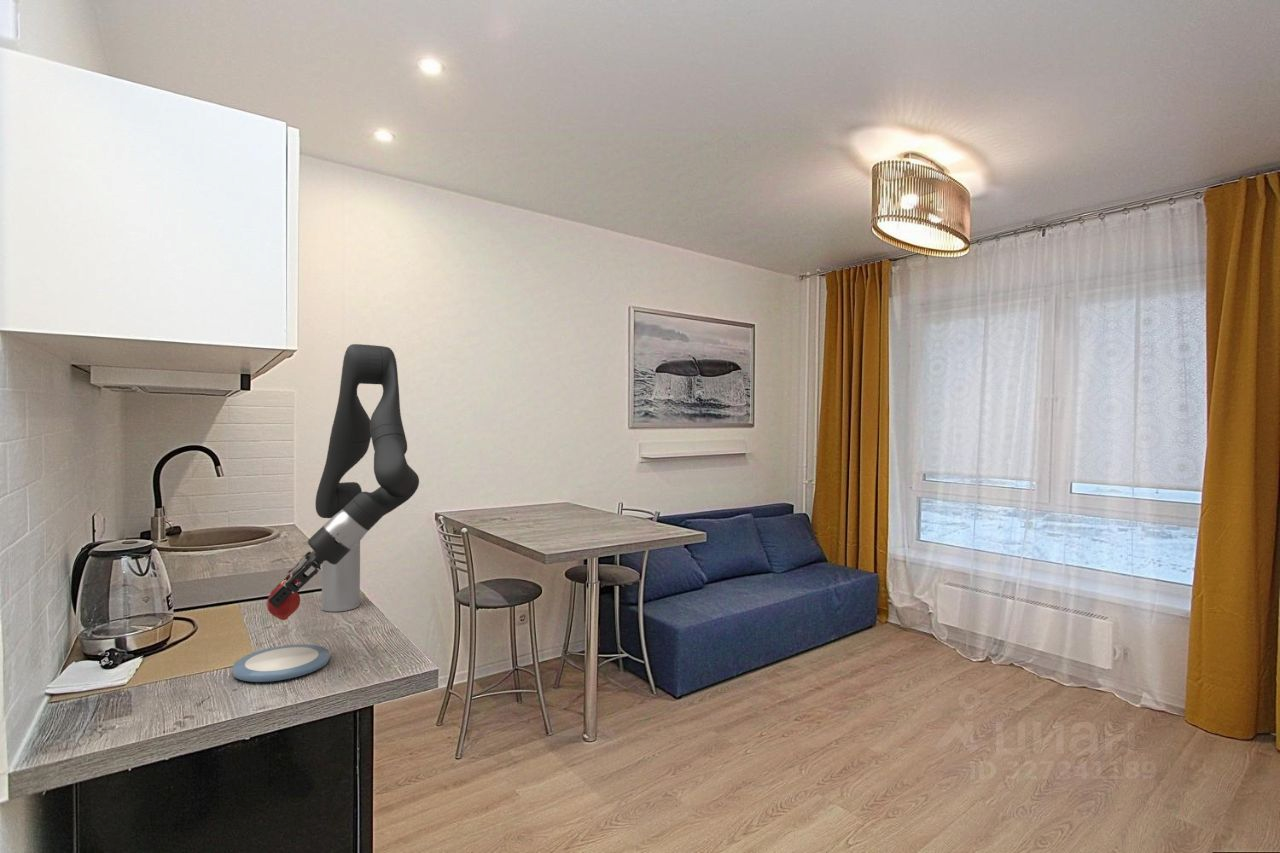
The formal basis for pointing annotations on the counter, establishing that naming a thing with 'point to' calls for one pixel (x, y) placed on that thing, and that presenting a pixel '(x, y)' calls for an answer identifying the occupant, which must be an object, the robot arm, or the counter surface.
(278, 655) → the dish
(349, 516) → the robot arm
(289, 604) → the onion
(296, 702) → the counter surface
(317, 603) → the counter surface
